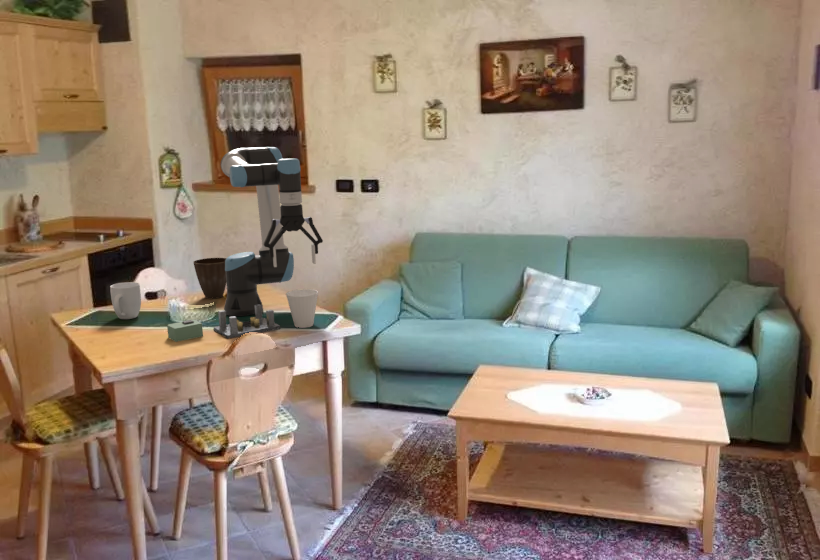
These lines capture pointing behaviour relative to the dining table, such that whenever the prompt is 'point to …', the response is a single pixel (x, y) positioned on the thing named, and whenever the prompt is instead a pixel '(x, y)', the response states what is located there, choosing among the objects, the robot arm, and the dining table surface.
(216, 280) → the plant pot
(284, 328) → the dining table surface
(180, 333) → the block
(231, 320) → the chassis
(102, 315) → the dining table surface
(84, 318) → the dining table surface
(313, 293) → the cup
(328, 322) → the dining table surface
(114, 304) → the mug
